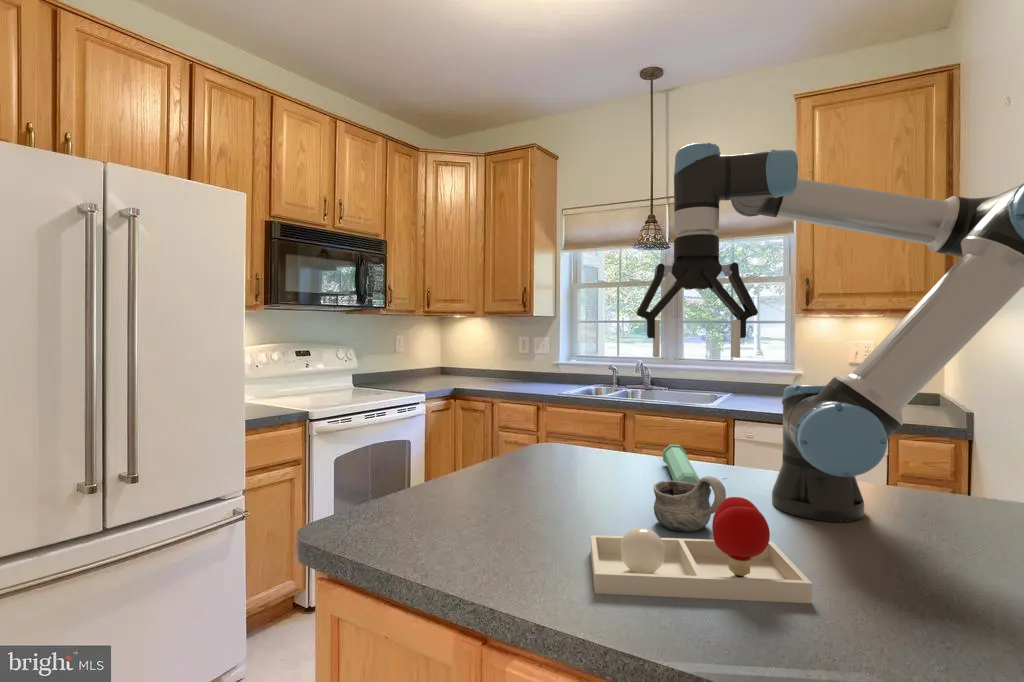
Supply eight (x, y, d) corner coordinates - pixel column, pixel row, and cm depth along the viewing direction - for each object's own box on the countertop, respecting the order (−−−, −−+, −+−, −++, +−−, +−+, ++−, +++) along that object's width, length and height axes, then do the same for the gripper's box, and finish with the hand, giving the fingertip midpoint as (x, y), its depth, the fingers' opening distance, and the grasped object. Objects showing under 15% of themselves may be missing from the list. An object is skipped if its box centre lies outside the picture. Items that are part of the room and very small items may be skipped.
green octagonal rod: (697, 467, 110) (681, 440, 135) (669, 477, 111) (658, 448, 136) (709, 495, 110) (690, 462, 135) (680, 504, 111) (667, 470, 136)
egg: (660, 563, 78) (661, 521, 78) (668, 583, 72) (668, 537, 72) (617, 562, 78) (617, 520, 78) (622, 581, 72) (622, 536, 72)
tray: (772, 562, 80) (772, 541, 79) (811, 607, 67) (812, 583, 67) (590, 555, 82) (590, 535, 82) (594, 597, 69) (594, 574, 69)
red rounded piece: (777, 595, 69) (779, 515, 68) (718, 590, 70) (720, 512, 69) (757, 563, 78) (759, 493, 77) (705, 559, 79) (707, 490, 79)
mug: (671, 515, 100) (671, 460, 100) (740, 533, 91) (740, 473, 91) (642, 529, 93) (642, 470, 93) (713, 550, 84) (713, 485, 84)
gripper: (762, 238, 99) (761, 356, 99) (621, 240, 101) (621, 355, 102) (778, 231, 91) (777, 358, 92) (626, 233, 94) (625, 358, 95)
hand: (695, 357), depth 97 cm, fingers open, 13 cm apart
